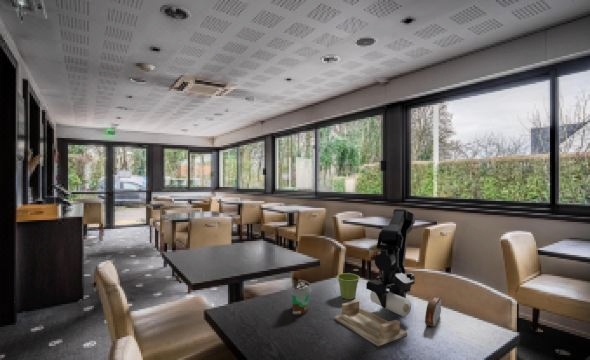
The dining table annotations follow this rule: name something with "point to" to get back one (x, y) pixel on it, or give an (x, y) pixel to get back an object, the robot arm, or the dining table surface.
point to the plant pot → (348, 285)
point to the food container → (301, 298)
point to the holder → (369, 324)
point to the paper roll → (394, 303)
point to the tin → (433, 310)
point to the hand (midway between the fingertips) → (389, 306)
